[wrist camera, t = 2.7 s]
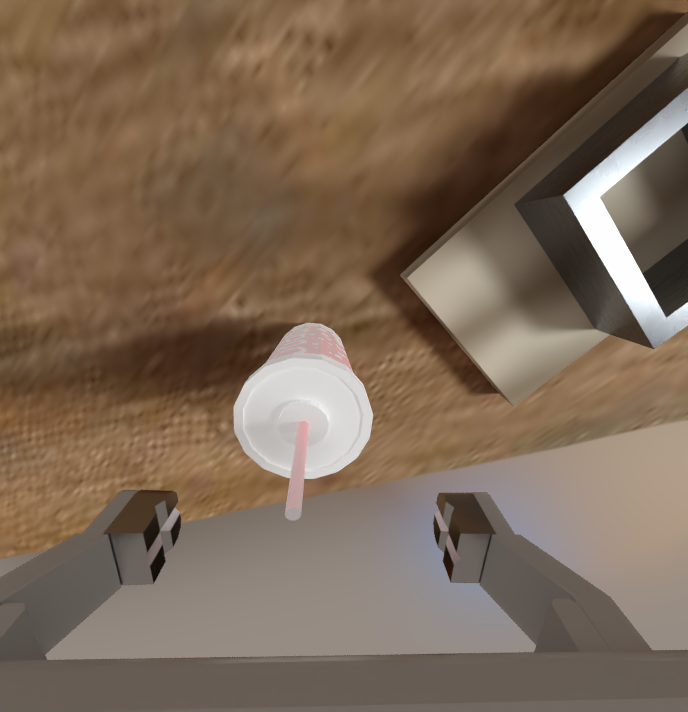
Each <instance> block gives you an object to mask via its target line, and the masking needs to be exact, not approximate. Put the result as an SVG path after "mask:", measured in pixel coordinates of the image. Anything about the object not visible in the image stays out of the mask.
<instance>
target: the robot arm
mask: <svg viewBox="0 0 688 712" xmlns="http://www.w3.org/2000/svg"><path fill="white" fill-rule="evenodd" d="M177 503H178V497H177V493H176V492H174V491H160V490H122V491H120V492H119V493H117V495H116V496H115V497H114V498H113V499H112V500H111V501H110V503H109V504H108V505H107V506H106V507H105V508H104V510H103V511H102V512H101V513H100V514H99V515H98V516H97V518H96V519H95V520H94V521H93V522H92V523H91V524H90V526H89V527H88V528H87V529H86V530H85V531H84V532H83V534H76V535H74V536H72V537H70V538H69V539H67V540H65V541H63V542H62V543H60V544H58V545H56V546H55V547H53V548H51V549H49V550H48V551H46V552H44V553H42V554H41V555H39V556H37V557H35V558H33V559H32V560H30V561H28V562H26V563H25V564H23V565H21V566H20V567H18V568H16V569H14V570H12V571H11V572H9V573H7V574H5V575H4V576H2V577H0V712H688V650H652V649H651V648H650V647H649V645H648V644H647V643H646V642H645V640H644V639H643V638H642V636H641V635H640V634H639V633H638V631H637V630H636V629H635V628H634V626H633V625H632V624H631V623H630V621H629V620H628V619H627V617H626V616H625V615H624V614H623V612H622V611H621V610H620V609H619V607H618V606H617V605H616V604H615V602H614V601H613V600H612V599H611V597H609V596H608V595H607V594H605V593H604V592H602V591H601V590H599V589H598V588H596V587H595V586H594V585H592V584H591V583H589V582H588V581H586V580H585V579H583V578H582V577H581V576H579V575H578V574H576V573H575V572H573V571H572V570H570V569H569V568H568V567H566V566H564V565H563V564H562V563H560V562H559V561H557V560H556V559H554V558H553V557H552V556H550V555H549V554H547V553H546V552H544V551H543V550H541V549H540V548H539V547H537V546H535V545H534V544H532V543H531V542H530V541H528V540H527V539H525V538H524V537H523V536H521V535H515V534H514V532H513V531H512V529H511V527H510V526H509V524H508V523H507V521H506V520H505V518H504V517H503V515H502V513H501V512H500V510H499V509H498V507H497V506H496V504H495V503H494V501H493V500H492V498H491V496H490V495H489V494H488V493H486V492H473V493H439V495H438V497H437V505H438V508H439V510H438V511H437V512H436V513H435V514H434V522H433V525H434V535H435V539H436V542H437V545H438V548H440V549H441V550H442V551H443V552H444V557H443V563H444V565H445V568H446V571H447V574H448V576H449V579H450V582H453V583H455V582H456V583H480V586H481V587H482V588H483V589H484V590H485V591H486V592H487V593H488V594H489V595H490V596H491V597H492V598H493V600H494V601H495V602H496V603H497V604H498V605H499V606H500V607H501V608H502V609H503V610H504V611H505V612H506V613H507V614H508V615H509V617H510V618H511V619H512V620H513V621H514V622H515V623H516V624H517V625H518V626H519V627H520V628H521V629H522V631H524V633H525V634H526V635H528V637H529V638H530V639H531V640H532V641H533V642H534V643H535V644H536V648H535V651H534V652H524V653H459V654H402V655H349V656H348V655H347V656H345V655H344V656H283V657H282V656H279V657H212V658H211V657H210V658H150V659H149V658H148V659H147V658H146V659H86V660H85V659H84V660H47V659H46V656H45V654H46V653H47V652H49V651H50V650H51V649H52V648H53V647H54V646H55V645H56V644H58V643H59V642H60V641H61V640H62V639H63V638H64V637H66V636H67V635H68V634H69V633H70V632H71V631H72V630H73V629H75V628H76V627H77V626H78V625H79V624H80V623H81V622H83V620H85V619H86V618H87V617H88V616H89V615H90V614H92V613H93V612H94V611H95V610H96V609H97V608H98V607H99V606H101V605H102V604H103V603H104V602H105V601H106V600H107V599H108V598H110V597H111V596H112V595H113V594H114V593H115V592H116V591H117V590H119V589H120V588H121V585H139V584H140V585H142V584H154V582H155V581H156V579H157V577H158V575H159V573H160V571H161V569H162V567H163V566H164V564H165V562H166V561H165V556H164V554H165V553H166V552H168V551H169V550H170V549H172V548H173V547H174V545H175V543H176V541H177V539H178V535H179V532H180V528H181V516H180V512H179V511H178V510H176V509H175V506H176V504H177Z"/></svg>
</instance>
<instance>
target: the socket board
mask: <svg viewBox="0 0 688 712" xmlns="http://www.w3.org/2000/svg"><path fill="white" fill-rule="evenodd" d="M686 53H688V12H687V13H686V14H685V15H683V16H682V17H681V18H680V19H679V20H678V21H677V22H676V23H675V24H674V25H673V26H671V27H670V28H669V29H668V30H667V31H666V32H665V33H664V34H663V35H662V36H660V37H659V38H658V39H657V40H656V41H655V42H654V43H653V44H652V45H651V46H649V47H648V48H647V49H646V50H645V51H644V52H643V53H642V54H641V55H640V56H639V57H637V58H636V59H635V60H634V61H633V62H632V63H631V64H630V65H629V66H628V67H626V68H625V69H624V70H623V71H622V72H621V73H620V74H619V75H618V76H617V77H616V78H614V79H613V80H612V81H611V82H610V83H609V84H608V85H607V86H606V87H605V88H603V89H602V90H601V91H600V92H599V93H598V94H597V95H596V96H595V97H594V98H593V99H591V100H590V101H589V102H588V103H587V104H586V105H585V106H584V107H583V108H582V109H580V110H579V111H578V112H577V113H576V114H575V115H574V116H573V117H572V118H571V119H570V120H568V121H567V122H566V123H565V124H564V125H563V126H562V127H561V128H560V129H559V130H557V131H556V132H555V133H554V134H553V135H552V136H551V137H550V138H549V139H548V140H547V141H545V142H544V143H543V144H542V145H541V146H540V147H539V148H538V149H537V150H536V151H534V152H533V153H532V154H531V155H530V156H529V157H528V158H527V159H526V160H525V161H524V162H522V163H521V164H520V165H519V166H518V167H517V168H516V169H515V170H514V171H513V172H511V173H510V174H509V175H508V176H507V177H506V178H505V179H504V180H503V181H502V182H501V183H499V184H498V185H497V186H496V187H495V188H494V189H493V190H492V191H491V192H490V193H488V194H487V195H486V196H485V197H484V198H483V199H482V200H481V201H480V202H479V203H478V204H476V205H475V206H474V207H473V208H472V209H471V210H470V211H469V212H468V213H467V214H465V215H464V216H463V217H462V218H461V219H460V220H459V221H458V222H457V223H456V224H455V225H453V226H452V227H451V228H450V229H449V230H448V231H447V232H446V233H445V234H444V235H442V236H441V237H440V238H439V239H438V240H437V241H436V242H435V243H434V244H433V245H432V246H430V247H429V248H428V249H427V250H426V251H425V252H424V253H423V254H422V255H421V256H419V257H418V258H417V259H416V260H415V261H414V262H413V263H412V264H411V265H410V266H409V267H407V268H406V269H405V270H404V271H403V272H402V273H401V274H400V276H401V277H402V278H403V280H404V281H405V282H406V283H407V284H408V285H409V287H410V288H411V289H412V290H413V291H414V293H415V294H416V295H417V296H418V297H419V299H420V300H421V301H422V302H423V303H424V305H425V306H426V307H427V308H428V309H429V311H430V312H431V313H432V314H433V315H434V317H435V318H436V319H437V320H438V321H439V323H440V324H441V325H442V326H443V327H444V328H445V330H446V331H447V332H448V333H449V334H450V336H451V337H452V338H453V339H454V340H455V342H456V343H457V344H458V345H459V346H460V348H461V349H462V350H463V351H464V352H465V354H466V355H467V356H468V357H469V358H470V360H471V361H472V362H473V363H474V364H475V366H476V367H477V368H478V369H479V370H480V371H481V373H482V374H483V375H484V376H485V377H486V379H487V380H488V381H489V382H490V383H491V385H492V386H493V387H494V388H495V389H496V391H497V392H498V393H499V394H500V395H501V396H502V397H503V398H505V399H506V400H507V401H508V402H509V403H510V404H511V405H513V406H515V405H516V404H517V403H519V402H520V401H521V400H523V399H524V398H525V397H527V396H528V395H529V394H531V393H532V392H533V391H535V390H536V389H537V388H539V387H540V386H541V385H543V384H544V383H545V382H547V381H548V380H549V379H551V378H552V377H554V376H555V375H556V374H558V373H559V372H560V371H562V370H563V369H564V368H566V367H567V366H568V365H570V364H571V363H572V362H574V361H575V360H576V359H578V358H579V357H580V356H582V355H583V354H584V353H586V352H587V351H588V350H590V349H591V348H592V347H594V346H595V345H596V344H598V343H599V342H600V341H602V340H603V339H604V338H606V337H607V336H609V335H610V334H607V333H604V332H601V331H598V330H595V328H594V327H593V325H592V324H591V322H590V321H589V319H588V318H587V316H586V314H585V313H584V311H583V310H582V308H581V307H580V305H579V304H578V302H577V301H576V299H575V298H574V296H573V294H572V293H571V291H570V290H569V288H568V287H567V285H566V284H565V282H564V281H563V279H562V278H561V276H560V274H559V273H558V271H557V270H556V268H555V267H554V265H553V264H552V262H551V261H550V259H549V258H548V256H547V254H546V253H545V251H544V250H543V248H542V247H541V245H540V244H539V242H538V241H537V239H536V238H535V236H534V234H533V233H532V231H531V230H530V228H529V227H528V225H527V224H526V222H525V221H524V219H523V218H522V216H521V214H520V213H519V211H518V210H517V208H516V207H515V205H514V204H515V203H516V202H517V201H518V200H520V199H521V198H522V197H523V196H524V195H525V194H526V193H527V192H529V191H530V190H531V189H532V188H533V187H534V186H535V185H536V184H538V183H539V182H540V181H541V180H542V179H543V178H544V177H545V176H547V175H548V174H549V173H550V172H551V171H552V170H553V169H554V168H556V167H557V166H558V165H559V164H560V163H561V162H562V161H563V160H565V159H566V158H567V157H568V156H569V155H570V154H571V153H572V152H574V151H575V150H576V149H577V148H578V147H579V146H580V145H581V144H583V143H584V142H585V141H586V140H587V139H588V138H589V137H590V136H592V135H593V134H594V133H595V132H596V131H597V130H598V129H599V128H601V127H602V126H603V125H604V124H605V123H606V122H607V121H608V120H610V119H611V118H612V117H613V116H614V115H615V114H616V113H617V112H619V111H620V110H621V109H622V108H623V107H624V106H625V105H626V104H628V103H629V102H630V101H631V100H632V99H633V98H634V97H635V96H637V95H638V94H639V93H640V92H641V91H642V90H643V89H644V88H646V87H647V86H648V85H649V84H650V83H651V82H652V81H653V80H655V79H656V78H657V77H658V76H659V75H660V74H661V73H662V72H664V71H665V70H666V69H667V68H668V67H669V66H670V65H671V64H673V63H674V62H675V61H676V60H677V59H678V58H679V57H681V56H683V55H685V54H686ZM600 199H601V201H602V202H603V204H604V206H605V208H606V210H607V212H608V213H609V215H610V217H611V219H612V221H613V222H614V224H615V226H616V228H617V230H618V231H619V233H620V235H621V237H622V239H623V240H624V242H625V244H626V246H627V248H628V250H629V251H630V253H631V255H632V257H633V259H634V260H635V262H636V264H637V266H638V268H639V269H640V271H641V273H644V272H645V271H646V270H648V269H649V268H650V267H651V266H653V265H654V264H655V263H657V262H658V261H659V260H661V259H662V258H663V257H664V256H666V255H667V254H668V253H670V252H671V251H672V250H674V249H675V248H676V247H677V246H679V245H680V244H681V243H683V242H684V241H685V240H687V239H688V144H687V141H686V139H685V137H684V134H683V132H682V130H681V129H680V130H679V131H677V132H676V133H675V134H674V135H673V136H671V137H670V138H669V139H668V140H667V141H666V142H664V143H663V144H662V145H661V146H660V147H658V148H657V149H656V150H655V151H654V152H652V153H651V154H650V155H649V156H648V157H647V158H645V159H644V160H643V161H642V162H641V163H639V164H638V165H637V166H636V167H635V168H633V169H632V170H631V171H630V172H629V173H628V174H626V175H625V176H624V177H623V178H622V179H620V180H619V181H618V182H617V183H616V184H615V185H613V186H612V187H611V188H610V189H609V190H607V191H606V192H605V193H604V194H603V195H601V196H600Z"/></svg>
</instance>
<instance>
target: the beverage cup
mask: <svg viewBox="0 0 688 712" xmlns="http://www.w3.org/2000/svg"><path fill="white" fill-rule="evenodd" d="M372 418H373V413H372V410H371V406H370V403H369V400H368V397H367V394H366V391H365V388H364V386H363V383H362V382H361V381H360V380H359V379H358V378H357V377H356V376H355V375H354V373H353V371H352V368H351V366H350V363H349V360H348V358H347V355H346V352H345V350H344V347H343V344H342V342H341V339H340V338H339V337H338V336H337V335H336V333H335V332H334V331H333V330H332V329H330V328H328V327H326V326H324V325H322V324H315V323H305V324H302V325H299V326H296V327H294V328H293V329H292V330H290V331H289V332H288V333H287V334H286V335H285V336H284V337H283V339H282V340H281V341H280V343H279V344H278V346H277V347H276V349H275V350H274V352H273V353H272V354H271V356H270V357H269V359H268V360H267V362H266V363H265V364H264V365H263V366H261V367H260V368H259V369H258V370H257V371H255V372H254V373H253V374H252V375H251V376H250V377H249V378H248V380H247V381H246V382H245V384H244V386H243V388H242V390H241V392H240V394H239V397H238V399H237V401H236V403H235V405H234V432H235V434H236V436H237V438H238V440H239V442H240V444H241V446H242V448H243V450H244V452H245V453H246V454H247V455H248V456H249V457H251V458H252V459H253V460H254V461H255V462H256V463H258V464H259V465H260V466H261V467H262V468H263V469H265V470H268V471H271V472H273V473H276V474H279V475H281V476H284V477H287V478H290V483H289V490H288V497H287V503H286V510H285V516H286V518H287V519H289V520H297V519H299V518H300V516H301V509H302V498H303V487H304V479H315V478H318V477H321V476H325V475H328V474H332V473H335V472H338V471H339V470H341V469H342V468H343V467H345V466H346V465H348V464H349V463H350V462H352V461H353V460H355V459H356V458H357V457H358V456H359V454H360V452H361V451H362V449H363V448H364V446H365V444H366V443H367V441H368V440H369V438H370V432H371V425H372Z"/></svg>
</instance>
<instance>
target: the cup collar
mask: <svg viewBox="0 0 688 712" xmlns="http://www.w3.org/2000/svg"><path fill="white" fill-rule="evenodd" d="M680 129H681V130H682V132H683V134H684V137H685V139H686V141H687V144H688V53H686V54H685V55H683V56H681V57H679V58H678V59H677V60H676V61H675V62H674V63H673V64H671V65H670V66H669V67H668V68H667V69H666V70H665V71H664V72H662V73H661V74H660V75H659V76H658V77H657V78H656V79H655V80H653V81H652V82H651V83H650V84H649V85H648V86H647V87H646V88H644V89H643V90H642V91H641V92H640V93H639V94H638V95H637V96H635V97H634V98H633V99H632V100H631V101H630V102H629V103H628V104H626V105H625V106H624V107H623V108H622V109H621V110H620V111H619V112H617V113H616V114H615V115H614V116H613V117H612V118H611V119H610V120H608V121H607V122H606V123H605V124H604V125H603V126H602V127H601V128H599V129H598V130H597V131H596V132H595V133H594V134H593V135H592V136H590V137H589V138H588V139H587V140H586V141H585V142H584V143H583V144H581V145H580V146H579V147H578V148H577V149H576V150H575V151H574V152H572V153H571V154H570V155H569V156H568V157H567V158H566V159H565V160H563V161H562V162H561V163H560V164H559V165H558V166H557V167H556V168H554V169H553V170H552V171H551V172H550V173H549V174H548V175H547V176H545V177H544V178H543V179H542V180H541V181H540V182H539V183H538V184H536V185H535V186H534V187H533V188H532V189H531V190H530V191H529V192H527V193H526V194H525V195H524V196H523V197H522V198H521V199H520V200H518V201H517V202H516V203H515V204H514V205H515V207H516V208H517V210H518V211H519V213H520V214H521V216H522V218H523V219H524V221H525V222H526V224H527V225H528V227H529V228H530V230H531V231H532V233H533V234H534V236H535V238H536V239H537V241H538V242H539V244H540V245H541V247H542V248H543V250H544V251H545V253H546V254H547V256H548V258H549V259H550V261H551V262H552V264H553V265H554V267H555V268H556V270H557V271H558V273H559V274H560V276H561V278H562V279H563V281H564V282H565V284H566V285H567V287H568V288H569V290H570V291H571V293H572V294H573V296H574V298H575V299H576V301H577V302H578V304H579V305H580V307H581V308H582V310H583V311H584V313H585V314H586V316H587V318H588V319H589V321H590V322H591V324H592V325H593V327H594V328H595V330H598V331H601V332H604V333H607V334H610V335H613V336H616V337H619V338H622V339H625V340H628V341H631V342H634V343H637V344H640V345H643V346H646V347H649V348H652V349H655V348H657V347H658V346H659V345H661V344H662V343H664V342H665V341H666V340H668V339H669V338H671V337H672V336H673V335H675V334H676V333H678V332H679V331H680V330H682V329H683V328H685V327H686V326H687V325H688V239H687V240H685V241H684V242H683V243H681V244H680V245H679V246H677V247H676V248H675V249H674V250H672V251H671V252H670V253H668V254H667V255H666V256H664V257H663V258H662V259H661V260H659V261H658V262H657V263H655V264H654V265H653V266H651V267H650V268H649V269H648V270H646V271H645V272H644V273H641V271H640V269H639V268H638V266H637V264H636V262H635V260H634V259H633V257H632V255H631V253H630V251H629V250H628V248H627V246H626V244H625V242H624V240H623V239H622V237H621V235H620V233H619V231H618V230H617V228H616V226H615V224H614V222H613V221H612V219H611V217H610V215H609V213H608V212H607V210H606V208H605V206H604V204H603V202H602V201H601V199H600V196H601V195H603V194H604V193H605V192H606V191H607V190H609V189H610V188H611V187H612V186H613V185H615V184H616V183H617V182H618V181H619V180H620V179H622V178H623V177H624V176H625V175H626V174H628V173H629V172H630V171H631V170H632V169H633V168H635V167H636V166H637V165H638V164H639V163H641V162H642V161H643V160H644V159H645V158H647V157H648V156H649V155H650V154H651V153H652V152H654V151H655V150H656V149H657V148H658V147H660V146H661V145H662V144H663V143H664V142H666V141H667V140H668V139H669V138H670V137H671V136H673V135H674V134H675V133H676V132H677V131H679V130H680Z"/></svg>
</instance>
